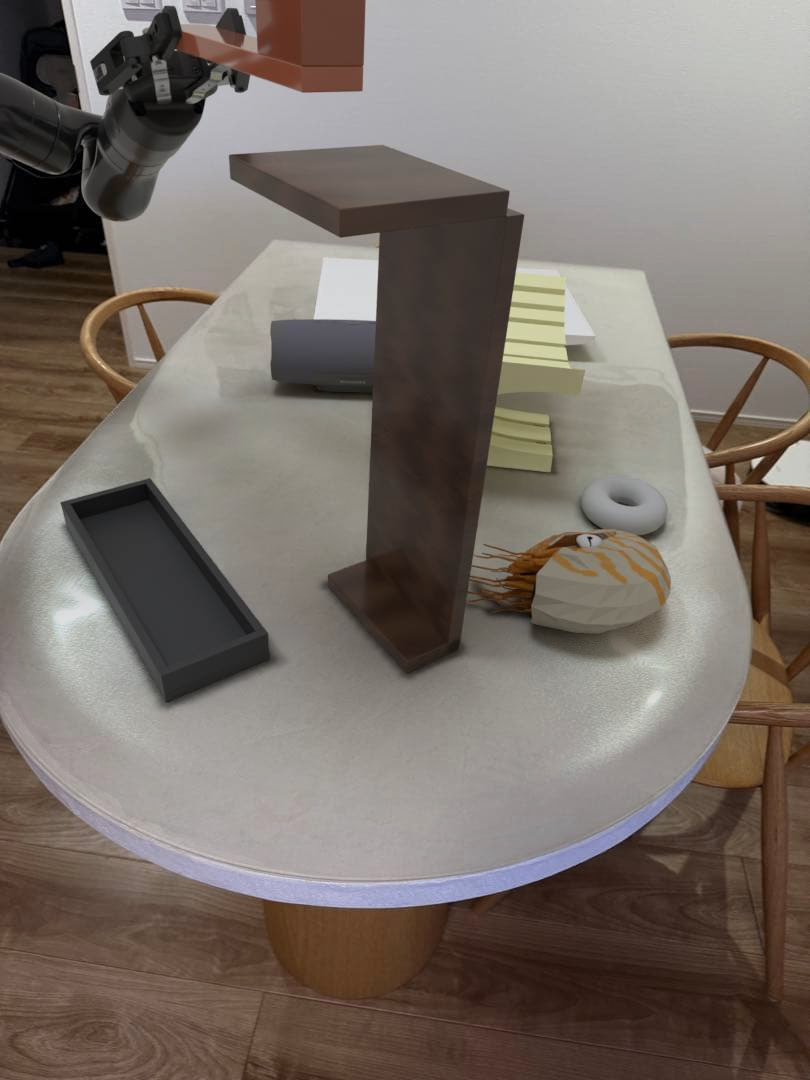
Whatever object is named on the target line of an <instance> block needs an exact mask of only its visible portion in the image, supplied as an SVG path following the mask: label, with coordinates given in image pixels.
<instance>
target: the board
mask: <svg viewBox="0 0 810 1080" xmlns="http://www.w3.org/2000/svg"><path fill="white" fill-rule="evenodd" d="M378 260H379V259H362V258H361V259H360V258H341V257H340V258H339V257H325V256H324V257H322V263H321V270H320V277H319V283H318V288H317V295H316V302H315V306H314V307H315V308H314V312H313V319H333V320H367V321H376V307H377V283H378ZM516 273H526V274H536V275H547V276H557V277H562V276H561V274H560V273H559V271H558V270H557V269H544V268H526V267H525V268H523V267H517V268H516ZM564 296H565V309H564V312H565V324H564V327H565V342H566V345H565V346H575V345H576V346H577V345H593V344H595V341H596V334H595V333H594V331H593V329H592V327H591V326H590V324H589V322H588V321H587V319H586V317H585V316H584V314H583V311H582V310H581V309H580V307H579V305H578V303H577V302H576V300H575V299H574V297H573V295H572V293H571V291H570V289H569V288H568V286H567V285H566V288H565V295H564Z"/></svg>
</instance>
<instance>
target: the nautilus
mask: <svg viewBox="0 0 810 1080" xmlns="http://www.w3.org/2000/svg"><path fill="white" fill-rule="evenodd" d="M482 545H483V546H485V547H489V548H490V549H495V550H498V551H501V552H504V553H508V555H507V554H503V553H498V555H496V554H495V555H494V554H492V553H491V554H490V553H484V552H481V554H483V555H485V556H483V555H477V554H473V557H476V558H480V559H486V560H487V559H492V558H494V559H501V560H504V561H508V562H511V563H510V564H509V565H508V566H507V567H506V566H505V567H499V568H491V567H486V566H480V565H474V564H472V566H471V568H476V569H481V570H486V571H490V573H506V574H507V573H508V574H511V575H507V576H506V577H505V578H499V579H498V578H497V577H496V579H491V578H488V577H487V578H486V577H481V576H475V575H471V574H470V580H469V582H473V583H477V584H475V586H476V588H477V589H478V590H479V591H480V592H475V591H469V590H468V593H467V594H470V595H475V596H476V595H477V596H482V597H483V596H484V598H477V599H472V600H468V602H469V603H474V602H479V601H494V602H496V603H497V604H499V605H501V606H504V607H510V608H505V609H499V610H495V611H491V613H498V612H504V611H505V612H506V611H516V612H519V613H525V612H526V613H531V618H530V622H529V624H532V625H538V626H542V627H546V628H551V629H555V630H561V631H565V632H569V633H574V634H575V633H576V634H603V633H605V632H609V631H613V630H616V629H620V628H624V627H628V626H631V625H634V624H636V623H638V622H641V621H642V620H644V619H645V618H647V617H649V616H650V615H652V614H654V613H655V612H657V611H658V610H660V609H661V608H662V607H663V606H664V605H665V604H666V602H667V601H668V599H669V597H670V595H671V589H672V588H671V587H672V586H671V585H672V577H671V574H670V571H669V569H668V566H667V565H666V563H665V561H664V558H663V557H662V555H661V553H660V551H659V550H658V549H659V548H658V547H657V545H655V544H654V543H652V542H650V541H648V540H646V539H645V538H643V537H642V536H640V535H635V534H632V533H630V532H625V531H620V530H615V529H603V528H601V529H591V530H588V531H565V532H562V533H560V534H555V535H552V536H549V537H548V538H546V539H543V540H542V541H540V542H538V543H536V544H535V545H534V546H532V547H530V548H529V549H527V550H526V551H525V552H524V551H523V552H514V551H510V550H507V549H504V548H500V547H497V546H494V545H490V544H486V543H482ZM510 557H513V558H510ZM476 579H477V580H476ZM482 580H483V581H482ZM485 581H487V582H485ZM489 582H491V583H489ZM492 583H495V584H492ZM478 584H482V585H486V586H489V587H492V588H502V589H505V590H508V591H505V592H500V591H496V590H490V589H488V588H487V589H486V588H483V587H481V586H479V585H478ZM486 592H488V593H486ZM485 597H488V598H485ZM495 597H497V598H495ZM499 597H500V598H499ZM514 598H522V599H521V600H510V599H514ZM502 601H507V602H509V603H511V604H508V603H505V602H502ZM516 607H519V608H520V607H521V608H524V609H522V610H521V609H516Z"/></svg>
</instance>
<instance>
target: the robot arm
mask: <svg viewBox="0 0 810 1080" xmlns="http://www.w3.org/2000/svg"><path fill="white" fill-rule="evenodd" d="M180 24H181V21H180V18H179V14H178V10H177V7H176V5H163V7H162V10H161V12H158V13H156V14H155V15H154V16H153V19H152V21H151V23H150V25H149V26H148V27H145V28H143V29H142V31H141V33H142V35H141V34H140V35H136V36H135V34H134V32H133V31H131V30H123V31H120V32H118V33H117V34H116V35H115V36H114V37H113V38H112V39H110V41H109V42H107V44H106V45H105V46H104V47H103V48H101V50H100V51H99V52H98V53H97V54H96V55H95V56H94V57H93V58H91V59H90V61H89V63H90V67H91V70H92V73H93V77H94V80H95V84H96V87H97V91H98V94H99V95H100V96H108V97H107V99H106V104H105V111H104V112H103V115H101V114H98V113H93V112H90V111H85V110H82V109H79V108H75V107H72V106H68V105H66V104H63V103H60V102H58V101H57V100H54V99H53V98H51V97H49V96H48V95H45V94H43V93H42V92H40V91H39V90H36V89H34V88H32V86H29V85H27V84H25V83H23V82H22V81H19V80H18V79H16V78H13V77H12V76H10V75H7V74H5V73H2V72H0V154H2V155H5V156H6V157H9V158H12V159H13V160H16V161H18V162H19V163H20V162H21V163H22V164H23V165H24V164H25V165H26V166H29V167H31V168H33V169H35V170H37V171H40V172H42V173H45V174H49V175H52V176H53V175H61V174H64V173H65V172H67V171H68V170H69V169H70V168H71V167H72V165H73V163H74V162H75V160H76V158H77V155H78V154H79V150H80V148H81V146H82V147H83V157H82V171H81V172H82V174H81V194H82V198H83V199H84V203H86V205H87V206H88V207H89V208H90V210H91V211H92V212H93V213H94V214H96V215H97V216H99V217H100V218H103V219H105V220H107V221H111V222H118V223H119V222H121V223H122V222H129V221H133V220H136V219H137V218H139V217H141V216H143V214H144V213H146V210H147V209H148V207H149V205H150V203H151V200H152V198H153V195H154V191H155V189H156V184H157V180H158V177H159V174H160V171H161V169H162V168H163V167H164V166H165V165H166V163H167V162H168V161H169V159H171V158H172V157H173V156H174V155H176V153H178V151H180V149H181V148H182V147H183V145H184V144H185V142H186V141H187V140H188V138H189V137H190V136H191V134H192V133H193V132H194V130H195V129H196V128H197V126H198V125H199V124H200V122H201V120H202V117H203V114H204V110H205V106H206V100H207V99H208V98H209V97H210V96H212V95H214V94H216V92H217V91H218V89H219V87H222V86H227V85H228V86H229V87H230V88H232V89H233V90H234V92H235V93H237V94H243V93H245V92H247V91H248V89H249V85H250V79H251V75H249V74H246V73H243V72H240V71H237V70H234V69H231V68H229V67H226V66H223V65H220V64H217V63H214V62H211V61H208V60H205V59H202V58H199V57H196V56H193V55H190V54H187V53H184V52H181V51H178V50H175V48H176V46H177V45H178V43H179V41H180V39H181V37H182V29H181V25H180ZM215 27H218V28H222V29H226V30H229V31H233V32H237V33H241V34H244V35H247V31H246V26H245V23H244V19H243V16H242V14H240V13H239V9H238V8H237V7H227V8H226V9H225V11H224V12H223V14H222V16H221V17H220V19H219V20H218V22H217V24H215Z"/></svg>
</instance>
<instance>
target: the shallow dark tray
mask: <svg viewBox="0 0 810 1080" xmlns="http://www.w3.org/2000/svg"><path fill="white" fill-rule="evenodd" d="M60 506H61V510H62V514H63V518H64V522H65V526H66V528H67V530H68V532H69V533H70V535H71V537H72V539H73V540H74V543H75V544H76V546H77V547H78V549H79V551H80V553H81V555H82V556H83V559H84V560H85V562H86V564H87V565H88V567H89V569H90V571H91V572H92V575H93V576H94V578H95V579H96V581H97V583H98V585H99V587H100V589H101V590H102V592H103V594H104V595H105V597H106V599H107V602H108V603H109V604H110V606H111V607H112V609H113V611H114V614H115V615H116V617H117V618H118V620H119V622H120V624H121V625H122V627H123V629H124V631H125V632H126V634H127V637H128V638H129V639H130V641H131V643H132V645H133V647H134V649H135V650H136V652H137V653H138V655H139V657H140V659H141V661H142V662H143V664H144V666H145V668H146V670H147V671H148V673H149V675H150V677H151V678H152V680H153V682H154V684H155V685H156V687H157V689H158V690H159V692H160V694H161V696H162V697H163V700H164V702H166V703H168V702H170V701H172V700H175V699H177V698H179V697H182V696H184V695H187V694H188V693H191V692H194V691H196V690H199V689H200V688H203V687H206V686H208V685H211V684H213V683H215V682H218V681H220V680H222V679H224V678H227V677H229V676H232V675H234V674H236V673H239V672H241V671H244V670H246V669H249V668H251V667H253V666H255V665H256V666H257V665H258V664H260V663H263V662H265V661H268V660H270V643H269V633H268V631H267V630H266V629H265V627H264V626H263V625H262V623H261V622H260V621H259V620H258V618H257V617H256V616H255V614H254V613H253V612H252V610H251V609H250V608H249V606H248V605H247V604H246V603H245V601H244V600H243V599H242V597H241V596H240V595H239V593H238V592H237V590H236V589H235V588H234V587H233V585H232V584H231V583H230V581H229V580H228V579H227V577H226V576H225V575H224V573H223V572H222V571H221V570H220V568H219V567H218V565H217V564H216V563H215V561H214V560H213V559H212V557H211V556H210V554H208V552H207V551H206V550H205V548H204V547H203V546H202V545H201V543H200V542H199V540H198V539H197V537H196V536H195V535H194V534H193V532H192V531H191V530H190V528H189V527H188V526H187V525H186V523H185V522H184V521H183V519H182V518H181V517H180V516H179V514H178V513H177V511H176V510H175V509H174V508H173V506H172V505H171V503H170V502H169V501H168V499H167V498H166V497H165V496H164V494H163V493H162V492H161V490H160V489H159V488H158V486H157V485H156V483H154V481H153V480H152V478H151V477H148V478H145V479H141V480H138V481H134V482H130V483H126V484H123V485H119V486H115V487H112V488H108V489H104V490H100V491H97V492H94V493H90V494H86V495H81V496H78V497H75V498H70V499H67V500H63V501H60Z"/></svg>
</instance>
